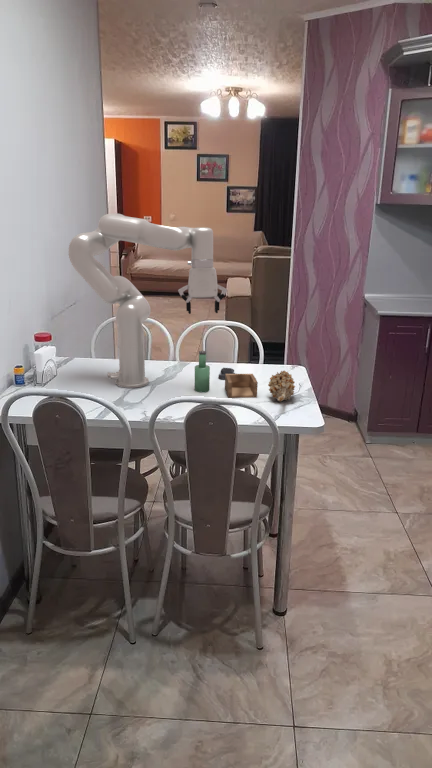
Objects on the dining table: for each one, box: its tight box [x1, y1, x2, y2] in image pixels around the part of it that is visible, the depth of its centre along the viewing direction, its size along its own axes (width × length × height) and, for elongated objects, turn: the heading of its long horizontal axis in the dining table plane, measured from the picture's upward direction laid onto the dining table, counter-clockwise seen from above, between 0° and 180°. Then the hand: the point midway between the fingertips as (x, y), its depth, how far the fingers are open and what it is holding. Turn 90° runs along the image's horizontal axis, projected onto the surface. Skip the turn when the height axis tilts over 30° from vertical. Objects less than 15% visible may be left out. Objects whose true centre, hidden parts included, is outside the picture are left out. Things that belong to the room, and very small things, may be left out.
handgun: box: [217, 367, 257, 381], centre depth 222 cm, size 2×16×12 cm
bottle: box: [193, 350, 211, 393], centre depth 203 cm, size 6×6×15 cm
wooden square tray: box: [224, 373, 258, 399], centre depth 202 cm, size 10×10×6 cm
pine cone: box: [267, 370, 296, 402], centre depth 193 cm, size 22×10×10 cm, turn 178°
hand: (202, 312), depth 197 cm, fingers open, 9 cm apart
